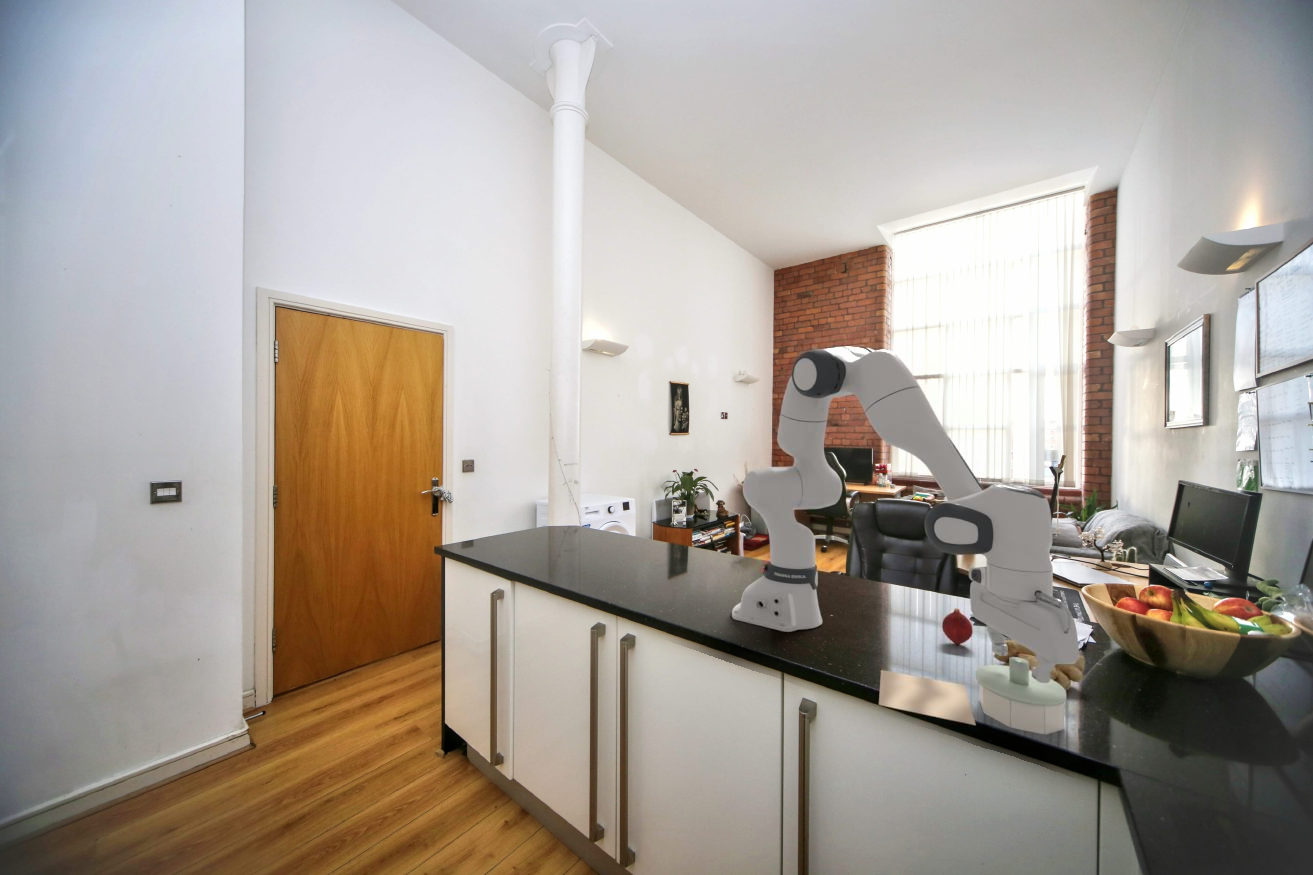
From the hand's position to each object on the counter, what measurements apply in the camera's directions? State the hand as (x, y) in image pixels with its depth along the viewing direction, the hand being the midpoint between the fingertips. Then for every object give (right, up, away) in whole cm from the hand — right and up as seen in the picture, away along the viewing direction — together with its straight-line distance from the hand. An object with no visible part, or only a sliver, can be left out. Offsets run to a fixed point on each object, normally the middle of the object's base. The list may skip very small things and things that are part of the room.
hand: (1019, 666), depth 81 cm
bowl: (0, -8, 0) cm, 8 cm away
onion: (+7, -9, +29) cm, 31 cm away
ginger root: (+12, -9, +13) cm, 20 cm away
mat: (-13, -8, +6) cm, 16 cm away
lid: (0, -3, 0) cm, 3 cm away
